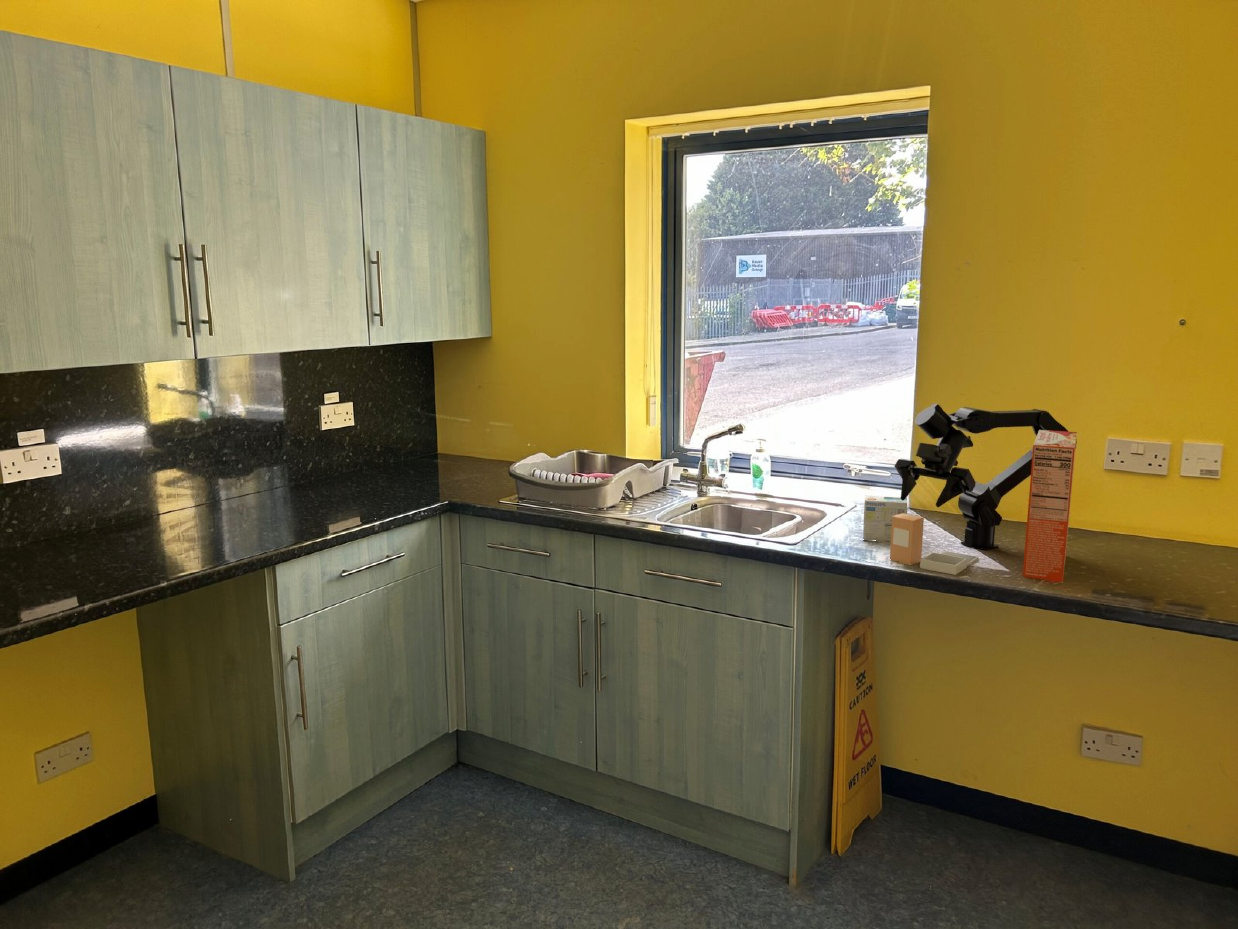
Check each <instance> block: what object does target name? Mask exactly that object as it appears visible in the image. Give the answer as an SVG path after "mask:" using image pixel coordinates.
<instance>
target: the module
mask: <svg viewBox="0 0 1238 929" xmlns="http://www.w3.org/2000/svg"><path fill="white" fill-rule="evenodd" d="M924 518H925V517H923V516H918V515H914V514H909V513H907V514H905V513H902V514H898V515H895V516H892V528H891V541H890V547H889V548H890V551H889V560H890V559H891V560H890V561H892V560H893V561H892V562H896V561H899V562H898V563H900V564H905V565H909V566H912V565H915V564H918V563H920V561H921V559H922V558H923V557H922V555H923V553H922V552H923V539H924V537H923V536H924V520H925V519H924Z"/></svg>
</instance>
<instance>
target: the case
mask: <svg viewBox="0 0 1238 929" xmlns="http://www.w3.org/2000/svg"><path fill="white" fill-rule="evenodd" d="M919 563H920V564H919V569H922V570H928V571H932V572H939V573H942V574H948V575H954V576H956V575H958V574H959V573H961V572H962V571H964V570H965V569H967V567H968V566H967V558H962V557H956V556H951V555H945V554H940V553H938V552H932V551H931V552H930V553H929V554H927V555H924V556H923V557H921V561H920V562H919Z"/></svg>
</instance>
